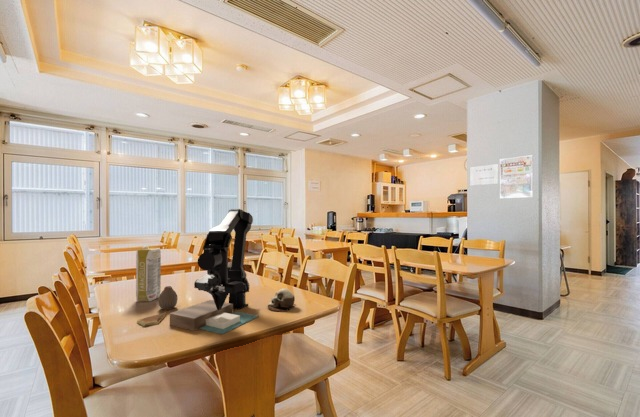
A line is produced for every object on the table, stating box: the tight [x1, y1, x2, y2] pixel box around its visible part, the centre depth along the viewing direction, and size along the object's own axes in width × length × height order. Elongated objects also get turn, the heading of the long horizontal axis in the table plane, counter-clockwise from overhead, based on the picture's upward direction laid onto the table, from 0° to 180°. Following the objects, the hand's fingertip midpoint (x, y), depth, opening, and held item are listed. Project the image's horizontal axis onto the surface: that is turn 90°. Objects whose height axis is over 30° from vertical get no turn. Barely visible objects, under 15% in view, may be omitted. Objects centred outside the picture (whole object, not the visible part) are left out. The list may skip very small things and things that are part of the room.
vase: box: [158, 285, 178, 311], centre depth 122 cm, size 7×7×9 cm
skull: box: [267, 288, 297, 313], centre depth 123 cm, size 12×10×10 cm
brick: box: [169, 299, 234, 332], centre depth 109 cm, size 18×12×4 cm, turn 153°
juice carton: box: [135, 245, 162, 302], centre depth 135 cm, size 9×8×24 cm
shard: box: [136, 311, 168, 327], centre depth 108 cm, size 11×8×2 cm
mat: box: [199, 311, 259, 335], centre depth 105 cm, size 18×10×1 cm, turn 153°
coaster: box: [206, 312, 240, 329], centre depth 104 cm, size 8×8×2 cm
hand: (219, 309), depth 105 cm, fingers closed
